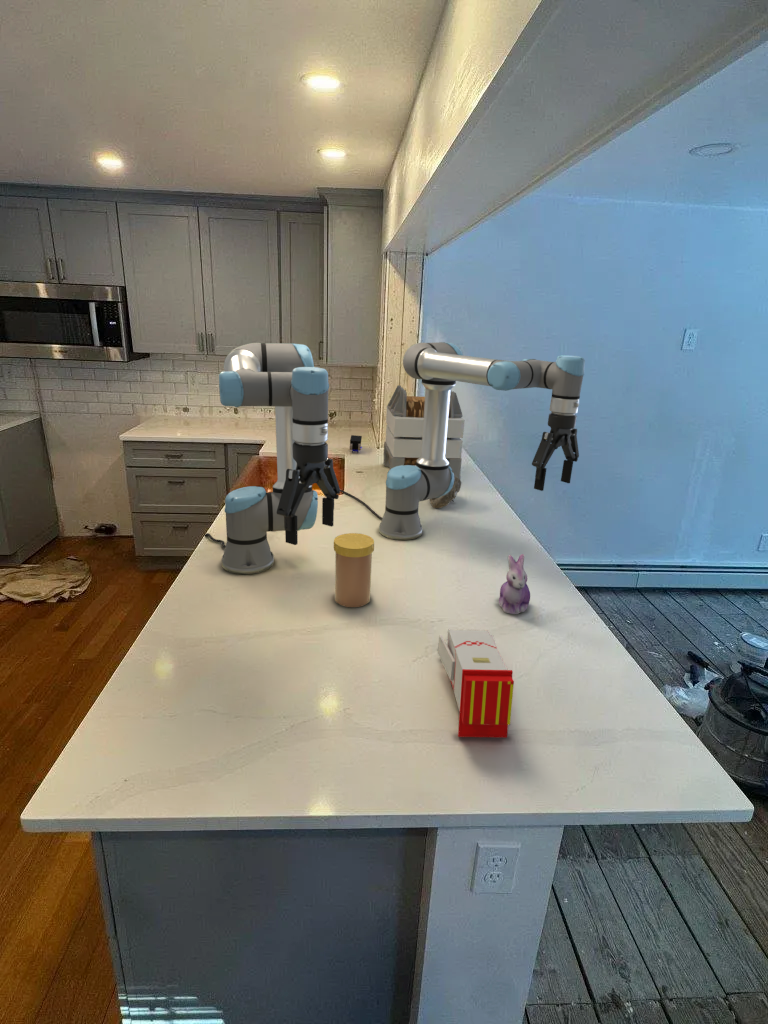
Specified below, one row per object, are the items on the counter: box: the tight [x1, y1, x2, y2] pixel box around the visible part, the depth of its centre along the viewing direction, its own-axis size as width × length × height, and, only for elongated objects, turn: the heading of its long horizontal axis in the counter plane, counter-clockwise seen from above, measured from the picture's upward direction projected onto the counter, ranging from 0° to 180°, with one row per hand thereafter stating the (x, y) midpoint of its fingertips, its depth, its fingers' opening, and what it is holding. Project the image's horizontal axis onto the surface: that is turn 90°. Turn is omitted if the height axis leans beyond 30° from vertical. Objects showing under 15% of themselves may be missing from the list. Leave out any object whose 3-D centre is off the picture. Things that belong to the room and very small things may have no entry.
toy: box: [437, 628, 515, 738], centre depth 117 cm, size 12×13×30 cm
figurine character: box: [349, 434, 363, 454], centre depth 310 cm, size 7×8×15 cm
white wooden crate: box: [383, 384, 465, 480], centre depth 268 cm, size 34×33×41 cm
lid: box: [333, 532, 375, 557], centre depth 149 cm, size 11×11×2 cm
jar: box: [334, 552, 373, 608], centre depth 151 cm, size 10×10×17 cm
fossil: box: [429, 477, 462, 509], centre depth 234 cm, size 22×10×15 cm
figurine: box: [498, 553, 531, 615], centre depth 151 cm, size 9×10×15 cm
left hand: (310, 533), depth 129 cm, fingers open, 13 cm apart
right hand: (552, 485), depth 166 cm, fingers open, 13 cm apart
